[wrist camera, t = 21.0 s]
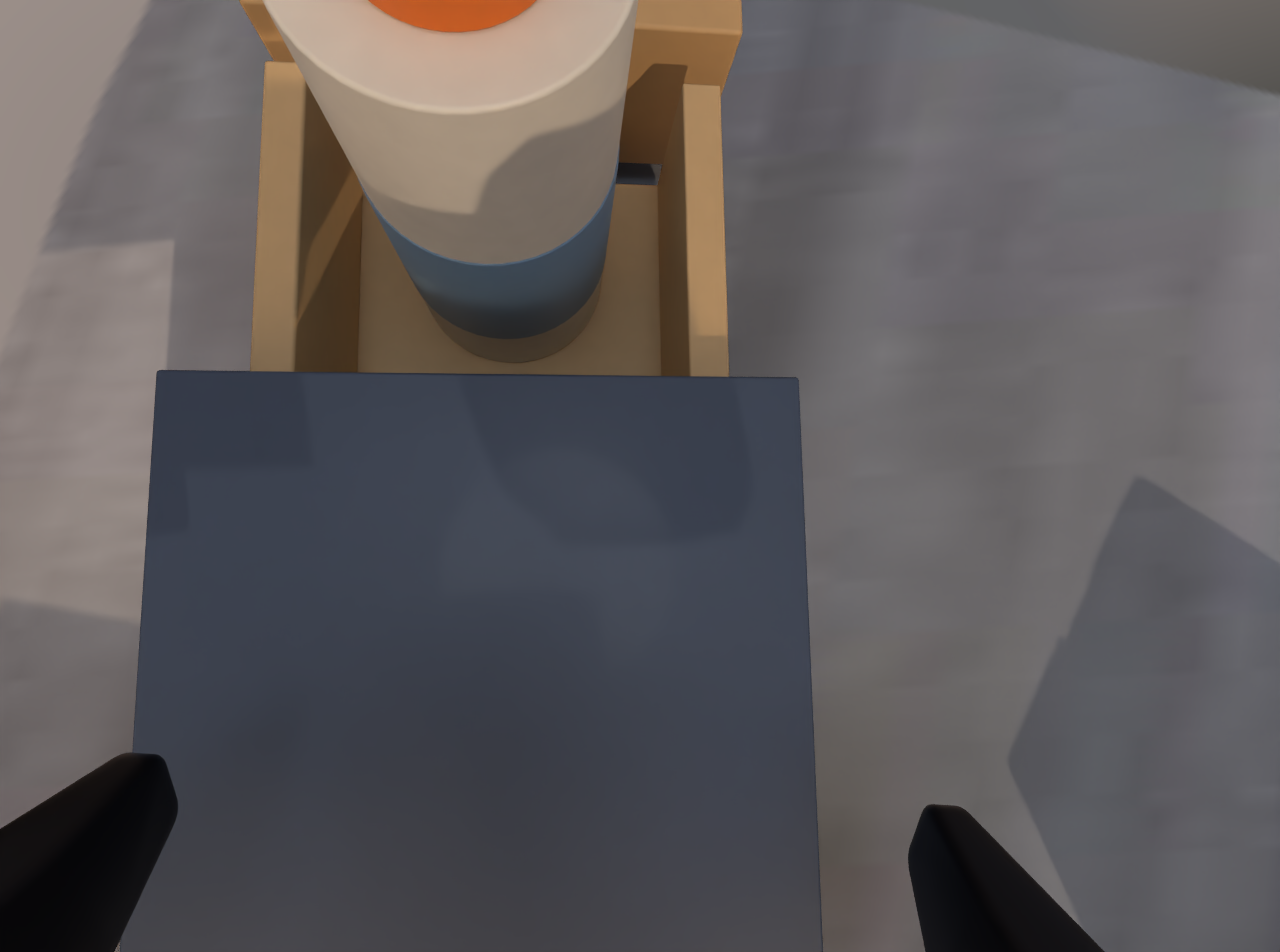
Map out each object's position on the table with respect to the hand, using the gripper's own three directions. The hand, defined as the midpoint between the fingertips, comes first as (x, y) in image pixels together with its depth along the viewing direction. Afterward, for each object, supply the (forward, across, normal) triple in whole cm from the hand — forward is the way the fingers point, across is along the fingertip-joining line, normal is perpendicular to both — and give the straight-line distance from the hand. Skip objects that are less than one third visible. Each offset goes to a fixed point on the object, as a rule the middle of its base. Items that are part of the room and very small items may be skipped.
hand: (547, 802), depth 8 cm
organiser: (+8, +2, +6) cm, 10 cm away
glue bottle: (+12, +3, -4) cm, 13 cm away
